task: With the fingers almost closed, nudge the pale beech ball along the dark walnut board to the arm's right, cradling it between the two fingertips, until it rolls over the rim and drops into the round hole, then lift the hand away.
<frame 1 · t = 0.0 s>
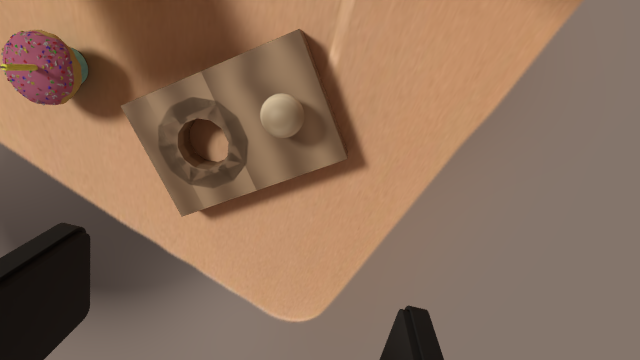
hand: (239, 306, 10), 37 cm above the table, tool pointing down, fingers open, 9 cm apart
board: (242, 127, 47), on the table
ball: (282, 115, 40), point 6 cm above the table, touching board
cupcake: (71, 67, 46), on the table
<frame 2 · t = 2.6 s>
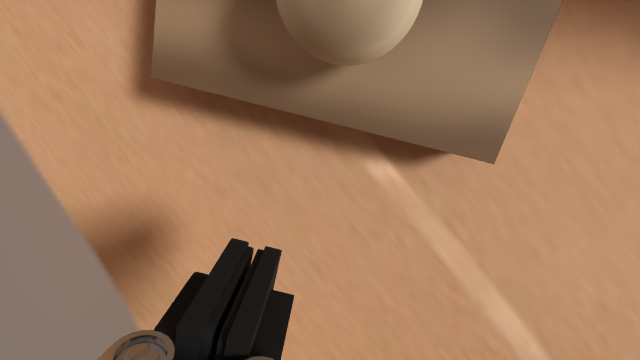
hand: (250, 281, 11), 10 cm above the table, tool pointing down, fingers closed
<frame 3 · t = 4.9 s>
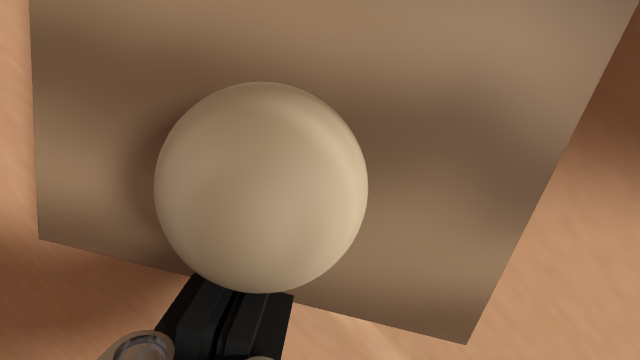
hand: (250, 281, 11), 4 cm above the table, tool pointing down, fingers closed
ball: (265, 187, 9), point 6 cm above the table, touching board, gripper
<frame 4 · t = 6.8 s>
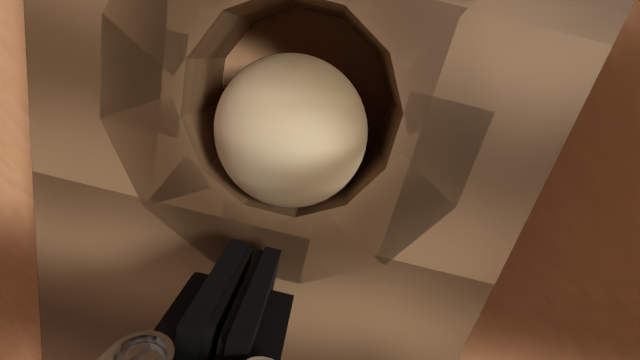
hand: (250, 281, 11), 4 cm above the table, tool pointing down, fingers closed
board: (280, 203, 15), on the table
ball: (292, 132, 12), point 2 cm above the table, tilted 90°
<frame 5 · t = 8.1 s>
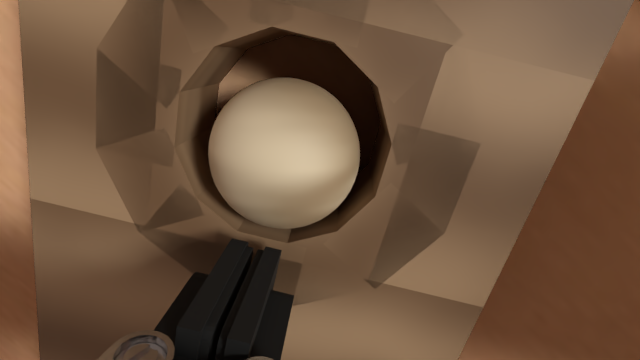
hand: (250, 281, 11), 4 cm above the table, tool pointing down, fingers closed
board: (274, 222, 16), on the table
ball: (285, 154, 12), point 2 cm above the table, tilted 86°
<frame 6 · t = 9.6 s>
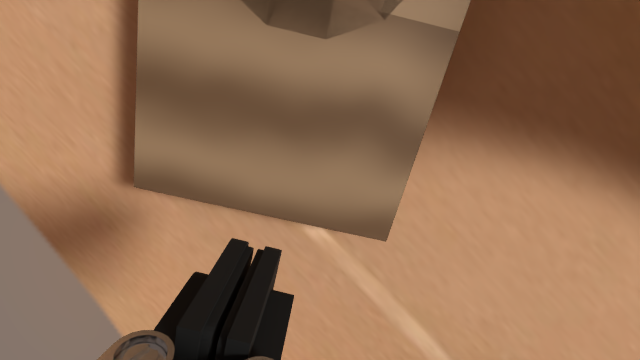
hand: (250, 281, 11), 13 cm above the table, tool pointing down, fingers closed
board: (306, 10, 21), on the table
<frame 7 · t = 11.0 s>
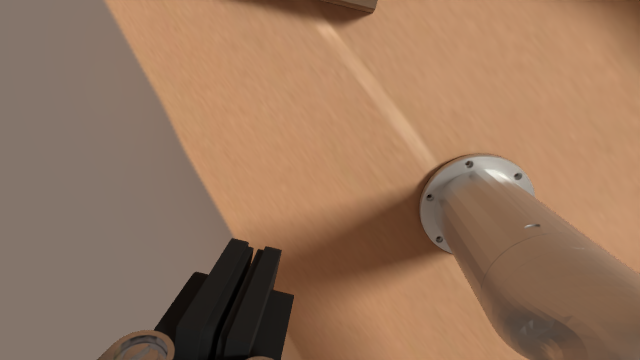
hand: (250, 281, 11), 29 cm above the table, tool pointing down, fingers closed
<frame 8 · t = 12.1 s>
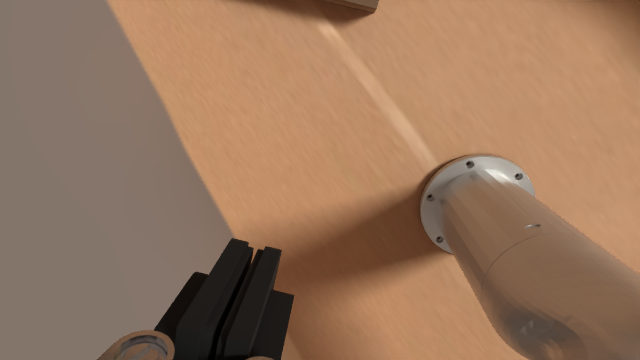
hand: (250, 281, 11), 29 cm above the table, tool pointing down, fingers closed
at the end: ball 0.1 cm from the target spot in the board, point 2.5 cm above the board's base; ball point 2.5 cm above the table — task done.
